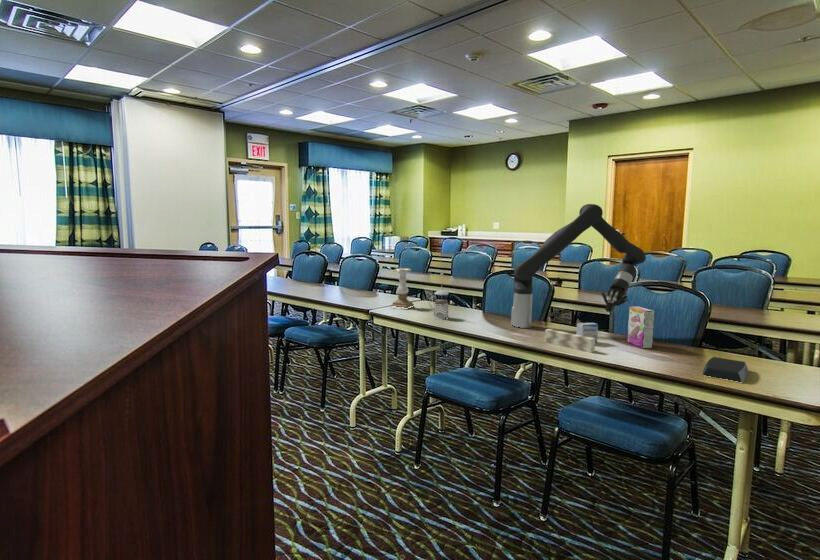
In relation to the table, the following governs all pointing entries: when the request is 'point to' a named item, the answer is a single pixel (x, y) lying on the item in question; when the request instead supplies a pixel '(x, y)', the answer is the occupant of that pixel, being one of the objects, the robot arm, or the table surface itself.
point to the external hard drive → (726, 369)
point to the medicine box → (588, 330)
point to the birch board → (570, 340)
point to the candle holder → (402, 290)
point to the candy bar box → (640, 326)
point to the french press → (443, 304)
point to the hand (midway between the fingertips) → (607, 310)
